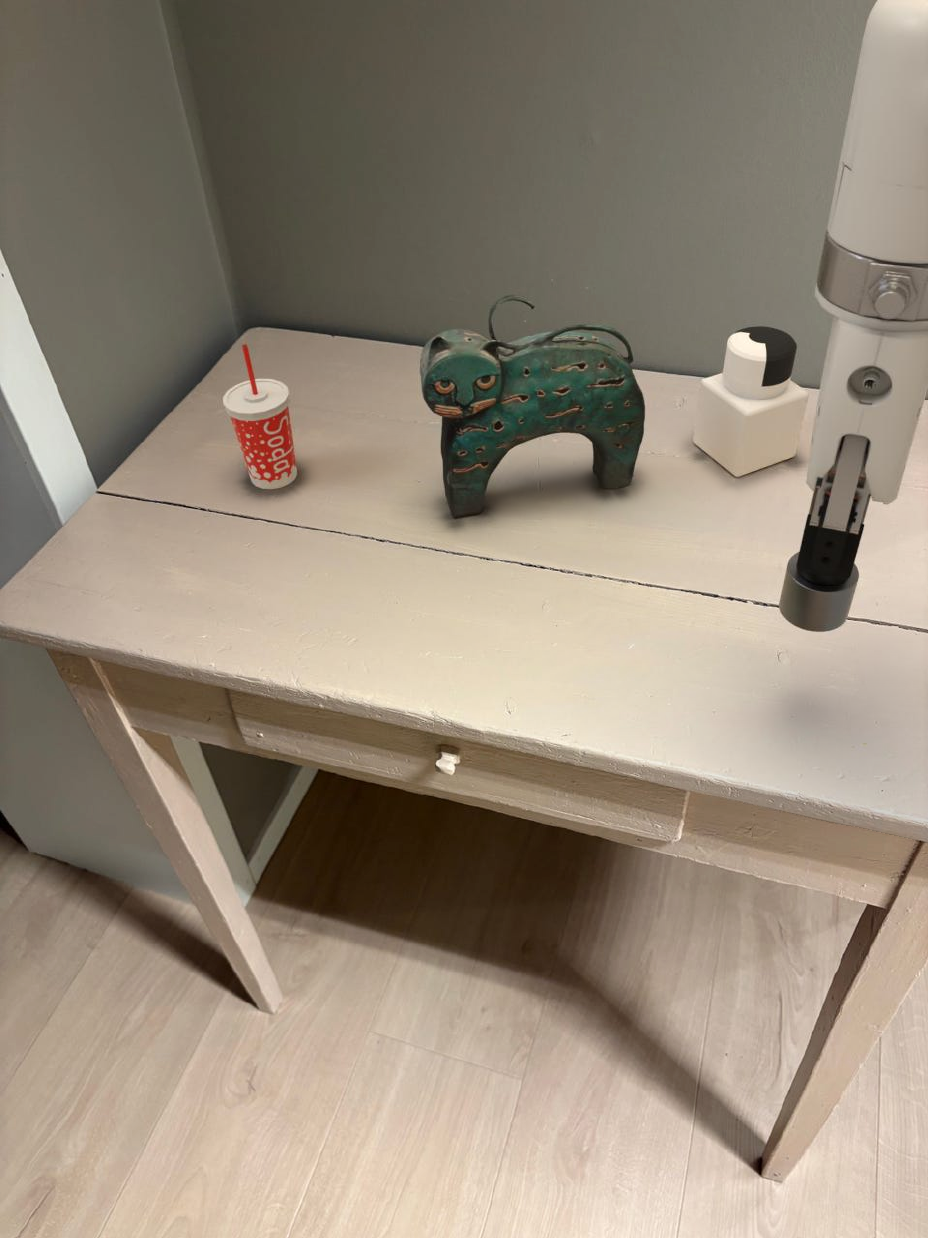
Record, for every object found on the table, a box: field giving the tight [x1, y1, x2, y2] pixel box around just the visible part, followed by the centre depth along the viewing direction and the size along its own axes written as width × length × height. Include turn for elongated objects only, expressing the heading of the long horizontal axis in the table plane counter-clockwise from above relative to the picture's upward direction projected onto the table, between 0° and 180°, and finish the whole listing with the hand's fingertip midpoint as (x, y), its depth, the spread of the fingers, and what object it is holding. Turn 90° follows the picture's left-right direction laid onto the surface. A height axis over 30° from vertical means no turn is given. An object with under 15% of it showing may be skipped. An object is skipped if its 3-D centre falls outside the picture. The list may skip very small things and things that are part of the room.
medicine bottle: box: [692, 325, 810, 478], centre depth 89 cm, size 7×7×12 cm
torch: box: [778, 472, 871, 633], centre depth 60 cm, size 4×4×10 cm
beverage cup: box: [222, 344, 298, 490], centre depth 90 cm, size 6×6×14 cm
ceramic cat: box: [419, 294, 646, 519], centre depth 84 cm, size 20×6×20 cm, turn 102°
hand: (828, 550), depth 61 cm, fingers closed on torch, 3 cm apart
